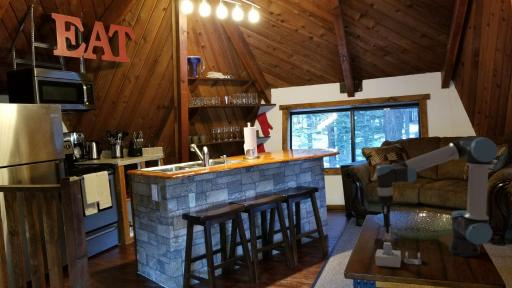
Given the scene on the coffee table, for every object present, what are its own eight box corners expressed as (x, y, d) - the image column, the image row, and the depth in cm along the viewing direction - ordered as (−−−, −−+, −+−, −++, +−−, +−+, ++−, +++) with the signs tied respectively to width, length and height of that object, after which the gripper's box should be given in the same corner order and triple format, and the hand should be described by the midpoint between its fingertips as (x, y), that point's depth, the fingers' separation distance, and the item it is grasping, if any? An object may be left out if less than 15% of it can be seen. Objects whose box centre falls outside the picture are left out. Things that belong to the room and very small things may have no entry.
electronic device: (389, 254, 224) (388, 241, 223) (374, 251, 231) (373, 238, 230) (393, 252, 227) (392, 239, 226) (377, 249, 234) (377, 236, 233)
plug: (392, 259, 211) (391, 242, 210) (391, 261, 208) (391, 244, 207) (384, 258, 212) (383, 242, 212) (383, 260, 209) (383, 243, 209)
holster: (421, 261, 210) (420, 252, 210) (421, 266, 205) (420, 256, 205) (405, 260, 214) (404, 251, 213) (404, 264, 208) (404, 255, 208)
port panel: (401, 261, 212) (400, 250, 212) (400, 269, 203) (399, 256, 203) (377, 260, 217) (377, 248, 217) (375, 267, 208) (375, 255, 207)
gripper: (379, 191, 215) (381, 234, 216) (376, 197, 203) (379, 242, 205) (393, 191, 212) (396, 234, 214) (392, 197, 200) (394, 243, 202)
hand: (388, 238), depth 209 cm, fingers closed
